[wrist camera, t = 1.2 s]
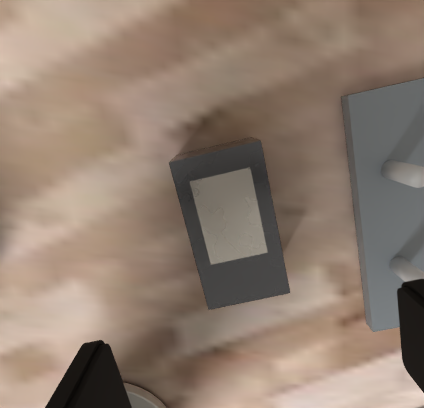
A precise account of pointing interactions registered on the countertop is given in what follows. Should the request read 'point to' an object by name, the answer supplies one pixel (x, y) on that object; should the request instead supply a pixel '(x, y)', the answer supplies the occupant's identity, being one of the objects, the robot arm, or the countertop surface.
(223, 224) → the drive
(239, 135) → the countertop surface
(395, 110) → the peg board
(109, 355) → the robot arm
